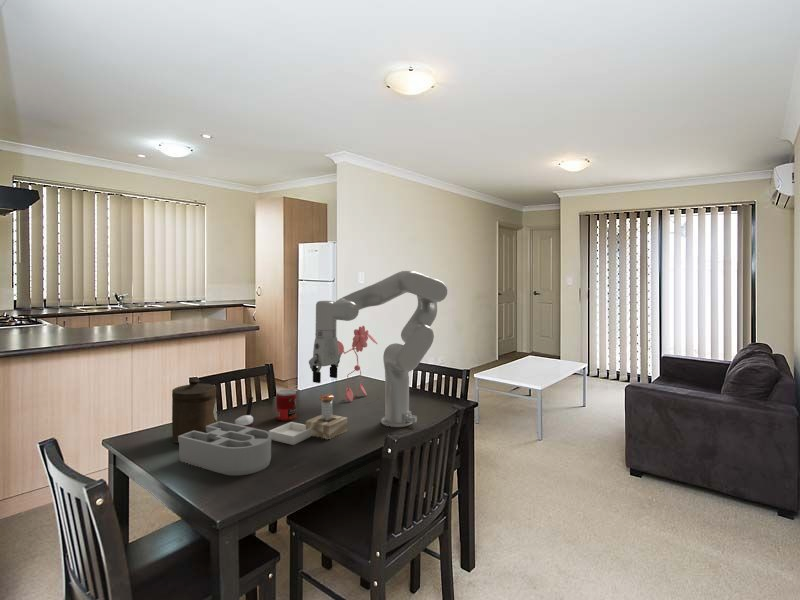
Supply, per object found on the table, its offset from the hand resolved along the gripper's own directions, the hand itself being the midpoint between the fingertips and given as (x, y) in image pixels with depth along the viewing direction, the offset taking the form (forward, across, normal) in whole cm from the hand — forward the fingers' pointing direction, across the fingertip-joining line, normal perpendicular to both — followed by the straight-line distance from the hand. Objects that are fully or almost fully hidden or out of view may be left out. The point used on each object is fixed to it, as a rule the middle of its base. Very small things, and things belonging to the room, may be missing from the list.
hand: (325, 380), depth 170 cm
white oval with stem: (+21, -14, +26) cm, 36 cm away
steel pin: (+20, +1, -1) cm, 20 cm away
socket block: (+20, +1, -1) cm, 20 cm away
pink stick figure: (+20, +44, +13) cm, 50 cm away
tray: (+20, -9, +7) cm, 23 cm away
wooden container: (+21, -27, +37) cm, 51 cm away
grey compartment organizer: (+21, -35, +10) cm, 42 cm away
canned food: (+20, +6, +24) cm, 32 cm away
